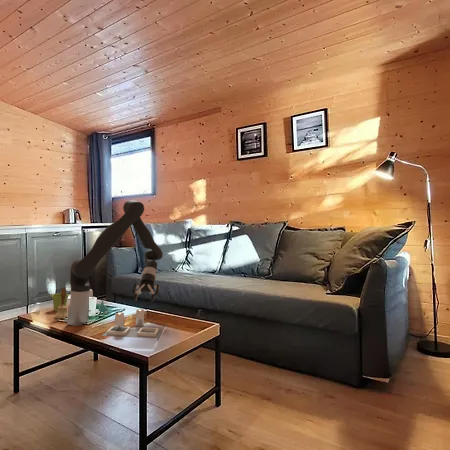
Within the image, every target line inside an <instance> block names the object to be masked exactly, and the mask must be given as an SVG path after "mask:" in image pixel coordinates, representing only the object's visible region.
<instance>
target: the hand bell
mask: <svg viewBox="0 0 450 450" xmlns="http://www.w3.org/2000/svg"><path fill="white" fill-rule="evenodd" d="M60 294H61V306H59V307H58V310H57V311H56V313H55V315H53V318H54V319H64V318H63V317H67V316H68V306H67V305H66V306H64V300H65V296H66V294H67V289H66V287H62V288H61V292H60Z"/></svg>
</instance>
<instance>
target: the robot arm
mask: <svg viewBox="0 0 450 450" xmlns="http://www.w3.org/2000/svg"><path fill="white" fill-rule="evenodd" d="M122 208H123V212H124V213H123V215H122V216H121V217H120V218H119V219H117V220H116V221H114V222H113V223H110V224H109V225H107V227H106V228H105V229H103V231H102V232H101V233H100V234H99V235H98V237H97V238H96V240H95V242H94V243H93V244H92V248H91V249H90V250H89V252H88V253H87V254H86V255H85V256H84V257H83V258H78V259H76V260H74V261H73V262H72V264H71V265H70V274H69V275H70V279H69V283H70V295H69V297H70V299H69V300H70V301H69V305H68V306H67V312H68V318H67V325H69V326H75V327H76V326H79V327H80V326H84V325H83V324H84V323H86V322H87V321H88V322H89V312H90V311H89V310H90V309H89V297H90V289H91V284H90V275H92V273H93V272H94V270H95V268H96V267H97V266H98V264H99V263H100V261H101V260H102V259H103V258H104V257H105V256H106V255H107V254H108V253H109V252H110V251H111V249H112V248H113V247H114V246H115V244H117V242H118V241H119V240H120V239H121V238H122V236H123V235H125V233H126V232H127V231H128V230H129V228H130V227H131V226H133V229H134V230H135V232H136V233H137V236H138V237H139V240H140V242H141V244H142V247H143V248H144V249H148V250H146V251H145V252H144V263H145V265H144V268H143V271H142V274H141V280H140V283H139V284H137V283H134V284H133V287H132V290H131V293H132V294H131V295H133V301H134V302H137V300H138V297H139V295H141V294H142V293H143V294H144V293H148V294H151V297H150V303H153V302H154V301H155V297H158V296H159V293H160V285H159V284H156V285H155V282H156V278H157V270H158V262H157V261H159V260H162V259H163V256H164V255H163V251H162V249H161V247H160V246H159V245H158V244H157V243H156V242H155V240H154V237H153V235H152V233H151V232H150V230H149V228H148V227H147V225H146V224H145V223H144V221H143V220H142V218H141V217H142V216H143V214H144V211H145V206H144V204H143V202H141V201H139V200H133V199H132V200H131V199H130V200H126V201H125V202H124V203H123V206H122ZM154 289H155V291H154Z"/></svg>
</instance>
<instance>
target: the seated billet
mask: <svg viewBox="0 0 450 450" xmlns="http://www.w3.org/2000/svg"><path fill="white" fill-rule="evenodd" d="M114 316H115V318H114V326H115V330H114V331H122V332H123V327H124V324H125V323H124V322H125V320H124V319H125V313H124V312H122V311H120V312H118V313H115V315H114Z"/></svg>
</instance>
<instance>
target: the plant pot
mask: <svg viewBox="0 0 450 450" xmlns="http://www.w3.org/2000/svg"><path fill="white" fill-rule="evenodd" d="M51 297H52V298H51V299H52V306H53V310H54V311H56V312H57V310H58V307H59V306H61V293H56V294H52V295H51ZM69 297H70V295H69V294H68V293H66V296H65V300H64V306H66V307H67V302H68V298H69Z"/></svg>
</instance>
